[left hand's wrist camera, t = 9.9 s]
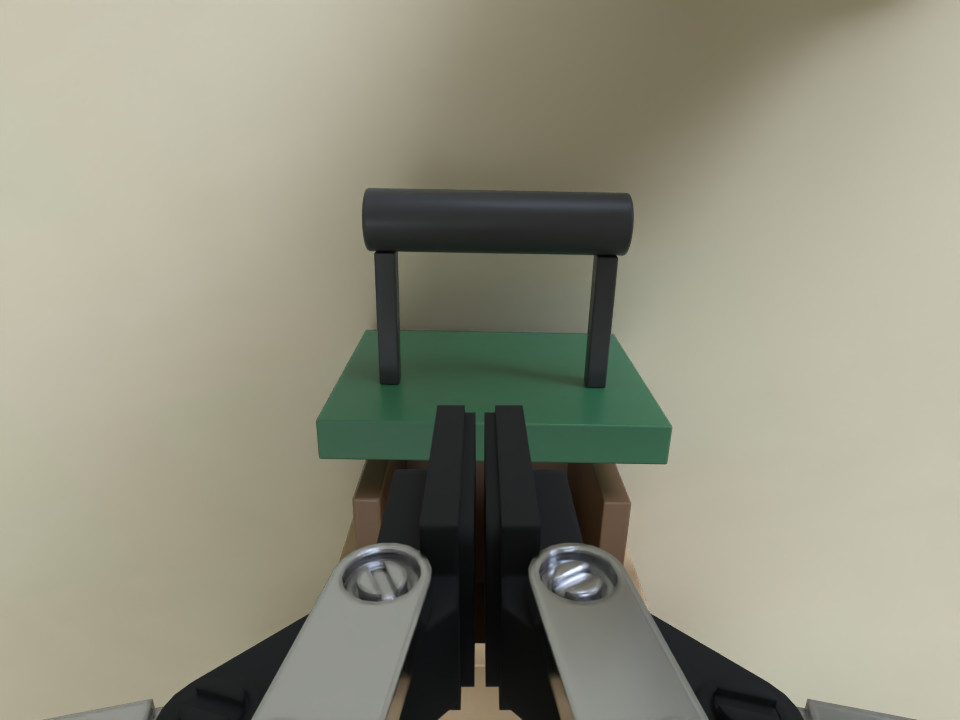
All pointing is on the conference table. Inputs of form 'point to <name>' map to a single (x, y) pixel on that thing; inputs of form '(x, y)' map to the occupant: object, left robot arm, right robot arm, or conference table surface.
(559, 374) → the drawer
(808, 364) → the conference table surface
